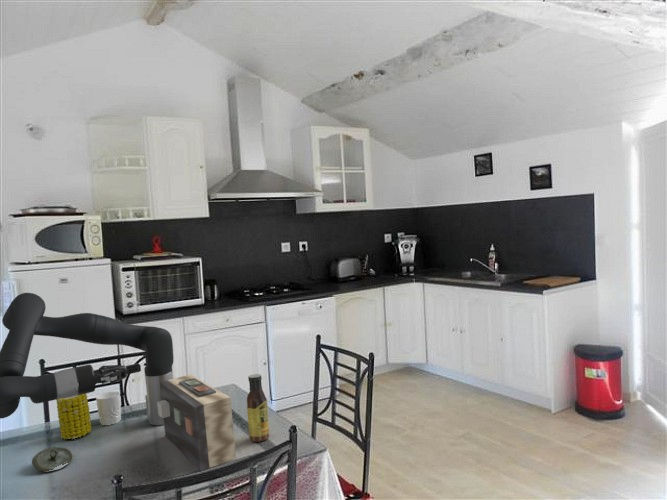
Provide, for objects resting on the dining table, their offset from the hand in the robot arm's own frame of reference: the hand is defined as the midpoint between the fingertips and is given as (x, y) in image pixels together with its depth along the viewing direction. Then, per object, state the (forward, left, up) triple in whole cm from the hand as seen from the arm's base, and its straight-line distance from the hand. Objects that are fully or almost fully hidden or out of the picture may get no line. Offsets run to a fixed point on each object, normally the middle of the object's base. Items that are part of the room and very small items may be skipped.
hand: (140, 367), depth 149 cm
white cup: (-39, +16, -28) cm, 51 cm away
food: (-41, +4, -28) cm, 50 cm away
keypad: (+7, +13, -28) cm, 32 cm away
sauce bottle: (+22, +24, -28) cm, 43 cm away
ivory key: (-5, +11, -19) cm, 23 cm away
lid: (-26, -13, -28) cm, 41 cm away
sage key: (+5, +9, -19) cm, 22 cm away
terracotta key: (+14, +4, -19) cm, 24 cm away
